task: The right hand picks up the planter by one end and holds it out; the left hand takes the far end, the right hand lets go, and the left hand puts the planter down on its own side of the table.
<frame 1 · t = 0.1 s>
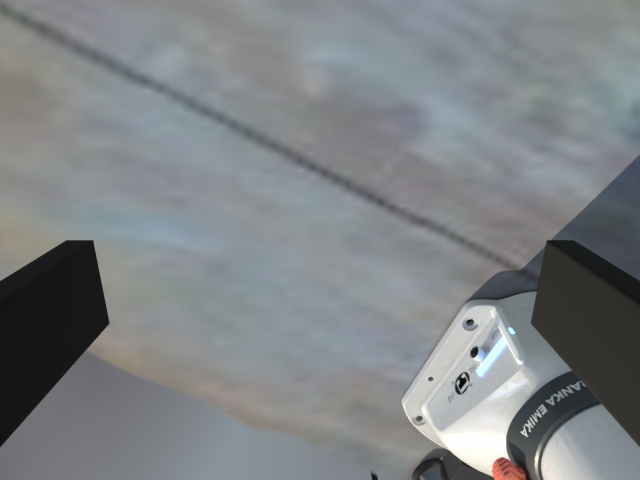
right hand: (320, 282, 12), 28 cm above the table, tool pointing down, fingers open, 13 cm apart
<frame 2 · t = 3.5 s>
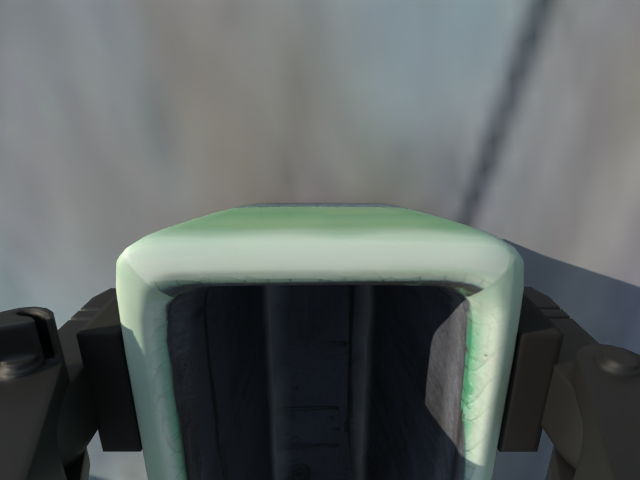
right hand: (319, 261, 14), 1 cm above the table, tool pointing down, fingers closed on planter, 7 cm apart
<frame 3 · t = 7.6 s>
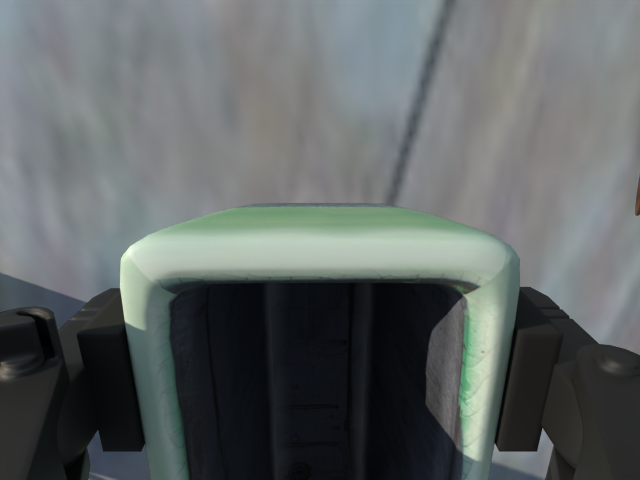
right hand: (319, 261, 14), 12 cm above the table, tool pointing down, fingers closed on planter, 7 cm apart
when the right hand's fingers open (12 cm above the table, at t = 8.7 s): planter stays where it is, held by the left hand.
when the left hand's fingers open (5 cm above the table, at t = 13.1 s): planter stays where it is, on the table.
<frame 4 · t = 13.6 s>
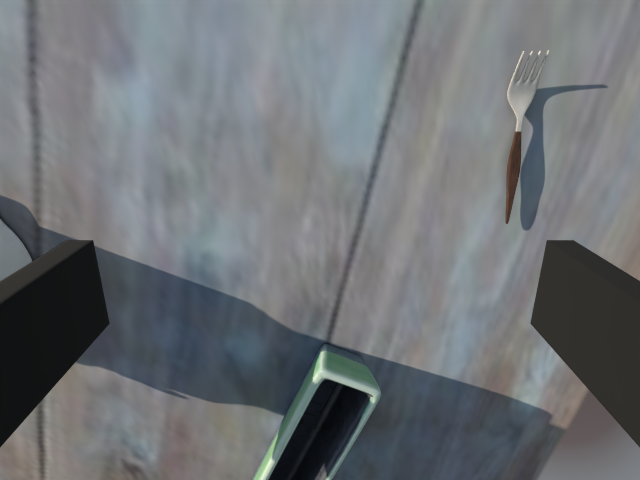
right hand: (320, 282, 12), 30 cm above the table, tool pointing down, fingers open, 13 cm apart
planter: (301, 426, 53), on the table
fork: (513, 142, 41), on the table
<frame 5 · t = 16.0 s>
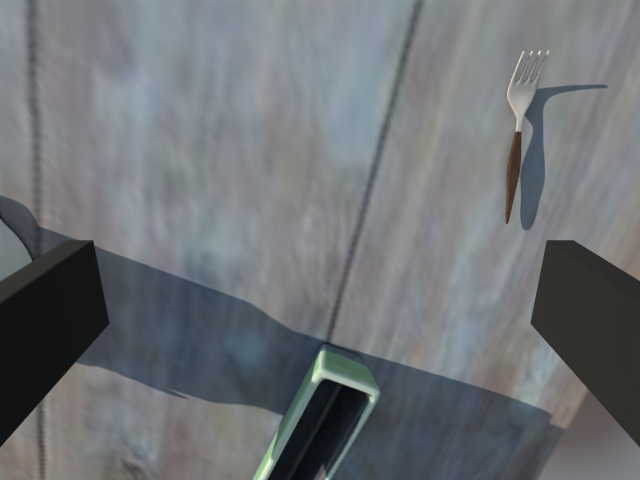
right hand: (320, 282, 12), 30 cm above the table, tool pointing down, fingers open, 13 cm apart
planter: (300, 426, 53), on the table
fork: (513, 142, 41), on the table
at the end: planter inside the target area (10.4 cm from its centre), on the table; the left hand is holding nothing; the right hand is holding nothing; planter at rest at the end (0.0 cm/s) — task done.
